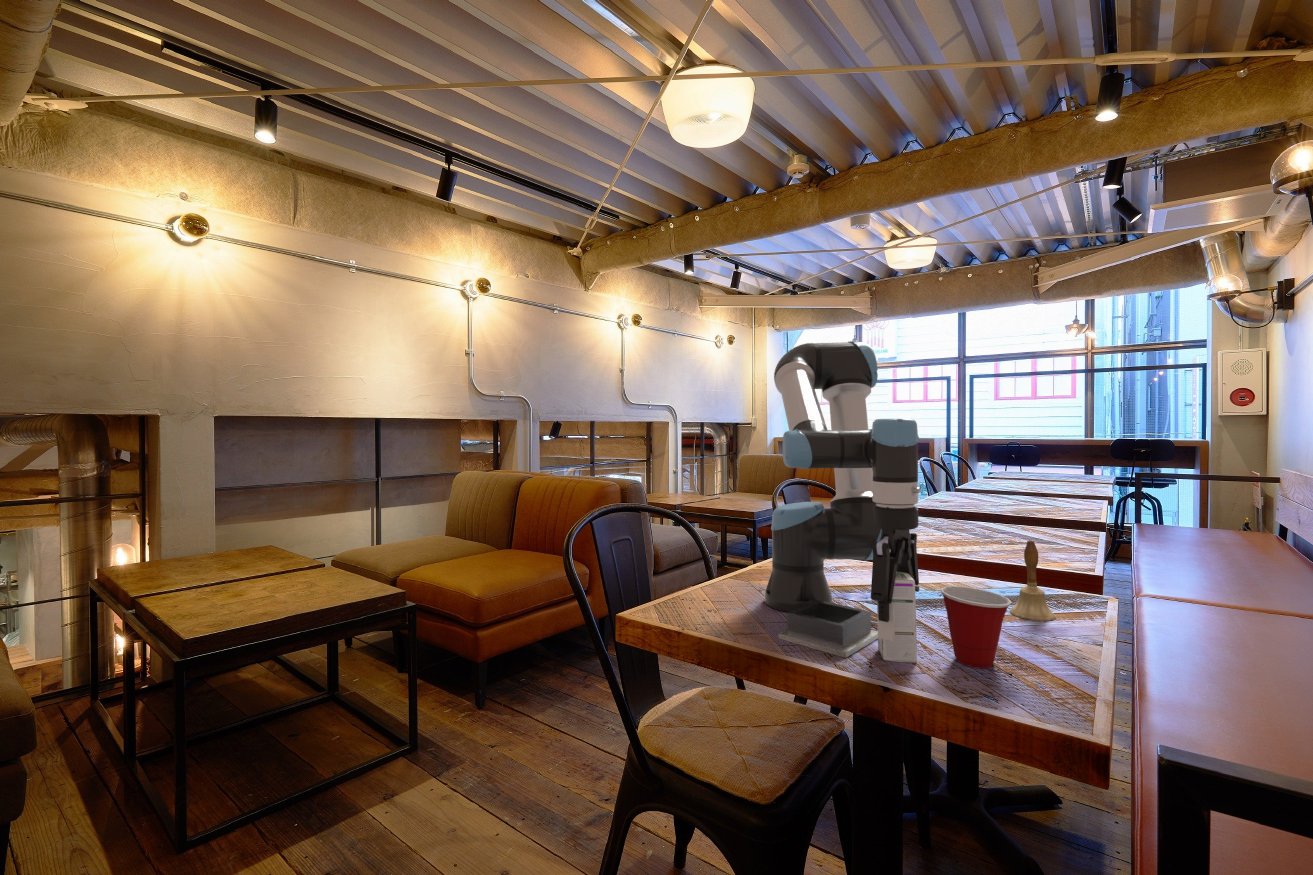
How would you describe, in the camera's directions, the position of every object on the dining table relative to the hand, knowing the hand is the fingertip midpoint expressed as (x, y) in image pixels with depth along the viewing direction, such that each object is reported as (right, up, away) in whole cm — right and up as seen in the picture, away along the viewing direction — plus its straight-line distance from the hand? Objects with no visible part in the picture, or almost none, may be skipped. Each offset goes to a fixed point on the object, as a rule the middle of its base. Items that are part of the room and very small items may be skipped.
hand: (896, 632), depth 103 cm
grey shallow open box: (-9, -4, +9) cm, 14 cm away
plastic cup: (+13, -4, -3) cm, 14 cm away
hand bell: (+38, -4, +21) cm, 44 cm away
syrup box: (0, -4, 0) cm, 4 cm away
